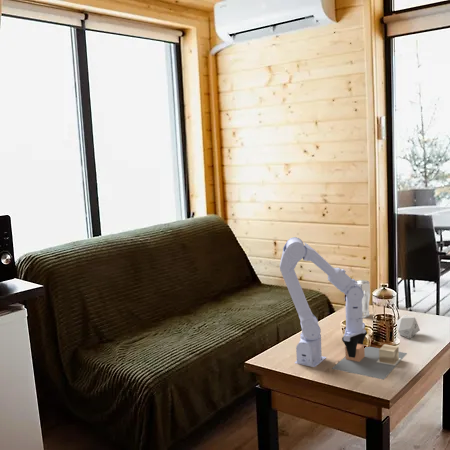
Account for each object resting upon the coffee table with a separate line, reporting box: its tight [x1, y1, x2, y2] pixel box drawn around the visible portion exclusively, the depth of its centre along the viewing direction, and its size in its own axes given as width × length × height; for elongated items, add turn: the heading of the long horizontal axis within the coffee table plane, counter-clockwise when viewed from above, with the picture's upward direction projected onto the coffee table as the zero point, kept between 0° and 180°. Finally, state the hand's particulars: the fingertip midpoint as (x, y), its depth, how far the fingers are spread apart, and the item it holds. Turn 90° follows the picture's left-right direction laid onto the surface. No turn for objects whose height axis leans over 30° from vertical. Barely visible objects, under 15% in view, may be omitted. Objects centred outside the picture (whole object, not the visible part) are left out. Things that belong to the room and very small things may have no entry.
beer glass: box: [355, 279, 371, 319], centre depth 239 cm, size 7×7×15 cm
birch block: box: [379, 344, 400, 364], centre depth 191 cm, size 5×5×4 cm
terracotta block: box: [344, 343, 365, 362], centre depth 195 cm, size 5×5×4 cm
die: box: [395, 314, 421, 339], centre depth 214 cm, size 8×9×10 cm
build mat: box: [331, 346, 408, 381], centre depth 193 cm, size 24×18×1 cm
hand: (355, 354), depth 195 cm, fingers closed on terracotta block, 5 cm apart
